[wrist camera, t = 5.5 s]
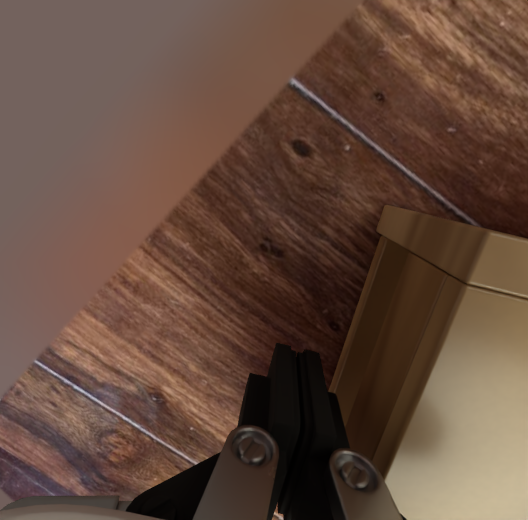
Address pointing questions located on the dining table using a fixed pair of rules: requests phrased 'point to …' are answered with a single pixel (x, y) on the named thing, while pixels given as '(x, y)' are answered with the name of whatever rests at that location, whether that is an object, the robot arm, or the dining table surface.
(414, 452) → the gold flanged block
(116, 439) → the dining table surface
